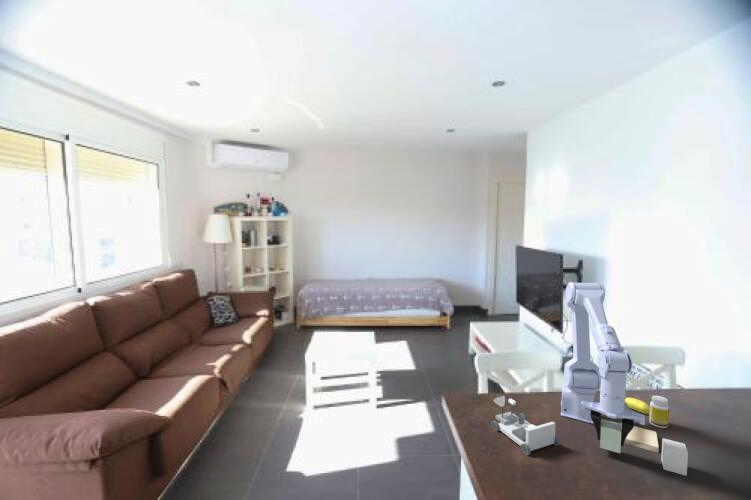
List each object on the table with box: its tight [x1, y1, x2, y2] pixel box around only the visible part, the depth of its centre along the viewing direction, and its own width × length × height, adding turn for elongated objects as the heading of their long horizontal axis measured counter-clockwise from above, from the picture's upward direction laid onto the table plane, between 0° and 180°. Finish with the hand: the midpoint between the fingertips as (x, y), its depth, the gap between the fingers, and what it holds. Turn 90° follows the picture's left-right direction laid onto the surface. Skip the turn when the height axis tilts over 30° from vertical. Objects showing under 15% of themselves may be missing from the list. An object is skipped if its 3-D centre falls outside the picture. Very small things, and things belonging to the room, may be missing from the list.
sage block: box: [599, 418, 622, 454], centre depth 100 cm, size 5×5×6 cm
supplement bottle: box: [648, 395, 670, 429], centre depth 114 cm, size 5×5×8 cm
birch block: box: [619, 422, 660, 453], centre depth 107 cm, size 9×9×2 cm
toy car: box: [490, 393, 561, 456], centre depth 109 cm, size 18×10×12 cm
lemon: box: [625, 397, 650, 415], centre depth 123 cm, size 4×8×4 cm, turn 21°
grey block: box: [661, 438, 689, 477], centre depth 94 cm, size 5×5×6 cm
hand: (610, 441), depth 100 cm, fingers closed on sage block, 5 cm apart
